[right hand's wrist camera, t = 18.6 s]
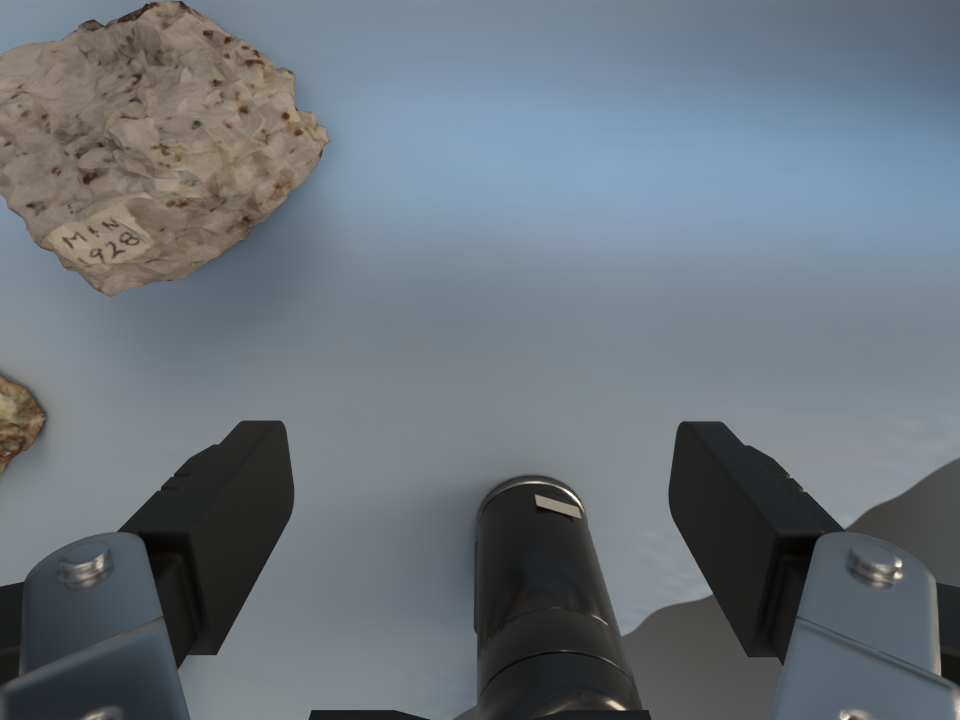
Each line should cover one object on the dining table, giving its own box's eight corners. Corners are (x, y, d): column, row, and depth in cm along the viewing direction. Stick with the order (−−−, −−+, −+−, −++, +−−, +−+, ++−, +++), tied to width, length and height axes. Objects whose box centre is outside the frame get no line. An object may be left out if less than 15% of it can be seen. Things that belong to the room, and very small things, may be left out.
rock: (64, 359, 30) (48, 152, 20) (-68, 143, 33) (-145, -143, 22) (293, 291, 41) (362, 132, 30) (180, 131, 43) (207, -67, 33)
